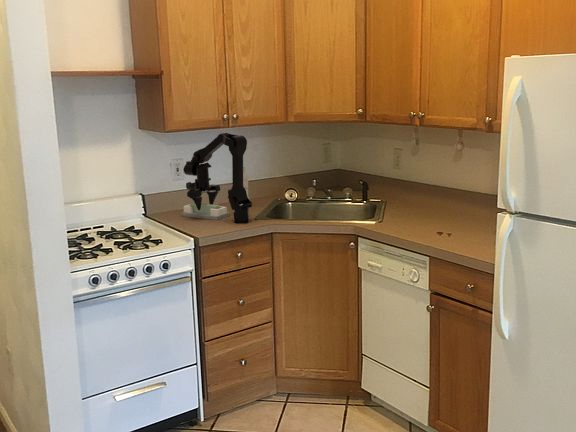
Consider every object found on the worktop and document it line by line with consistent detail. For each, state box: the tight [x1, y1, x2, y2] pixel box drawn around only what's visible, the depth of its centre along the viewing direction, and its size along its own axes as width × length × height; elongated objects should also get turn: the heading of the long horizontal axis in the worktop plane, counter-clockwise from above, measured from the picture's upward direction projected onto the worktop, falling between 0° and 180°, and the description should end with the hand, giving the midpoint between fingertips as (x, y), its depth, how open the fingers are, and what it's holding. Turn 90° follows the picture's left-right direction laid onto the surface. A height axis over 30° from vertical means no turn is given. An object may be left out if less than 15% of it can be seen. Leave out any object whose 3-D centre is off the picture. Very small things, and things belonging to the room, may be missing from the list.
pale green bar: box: [189, 202, 221, 214], centre depth 320 cm, size 16×3×4 cm, turn 57°
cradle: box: [180, 203, 231, 221], centre depth 320 cm, size 22×10×4 cm, turn 58°
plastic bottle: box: [241, 166, 251, 205], centre depth 335 cm, size 6×7×20 cm
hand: (205, 208), depth 320 cm, fingers open, 9 cm apart
